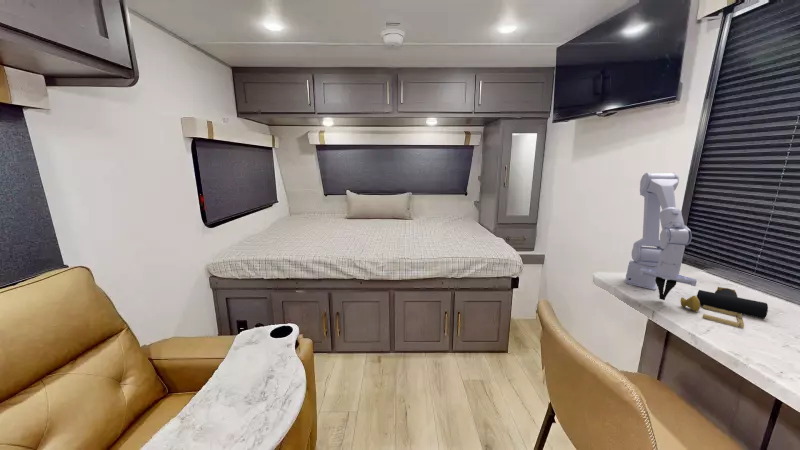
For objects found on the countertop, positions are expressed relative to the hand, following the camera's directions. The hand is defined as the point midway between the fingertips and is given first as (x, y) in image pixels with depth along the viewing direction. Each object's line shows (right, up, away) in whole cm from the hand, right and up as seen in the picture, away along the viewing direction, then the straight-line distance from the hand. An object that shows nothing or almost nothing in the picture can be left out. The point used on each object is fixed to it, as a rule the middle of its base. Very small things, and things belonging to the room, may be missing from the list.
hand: (662, 298), depth 103 cm
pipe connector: (+20, -2, -3) cm, 20 cm away
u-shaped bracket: (+10, -3, -9) cm, 14 cm away
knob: (+5, -3, -5) cm, 7 cm away
